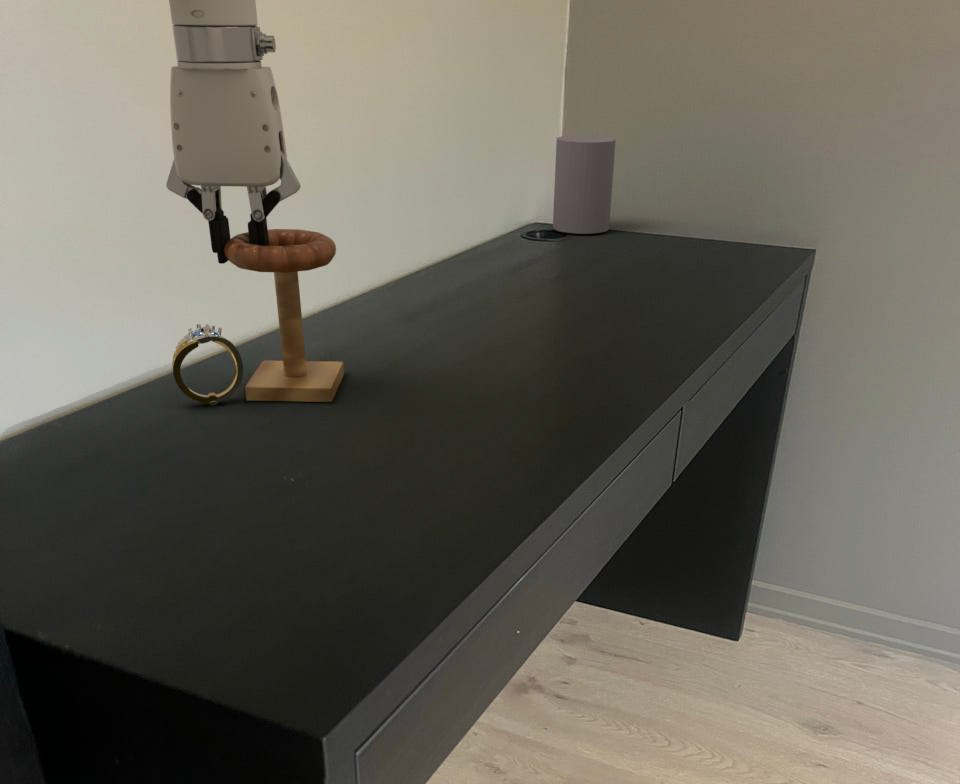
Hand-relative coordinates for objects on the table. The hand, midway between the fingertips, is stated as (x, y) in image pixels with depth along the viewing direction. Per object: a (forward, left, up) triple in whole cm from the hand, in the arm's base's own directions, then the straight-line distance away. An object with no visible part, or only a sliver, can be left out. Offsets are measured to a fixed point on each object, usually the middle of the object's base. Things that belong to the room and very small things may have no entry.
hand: (242, 259), depth 100 cm
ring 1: (-3, -5, -13) cm, 15 cm away
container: (+40, +89, -13) cm, 99 cm away
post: (+4, 0, -13) cm, 14 cm away
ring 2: (+4, 0, +1) cm, 4 cm away
